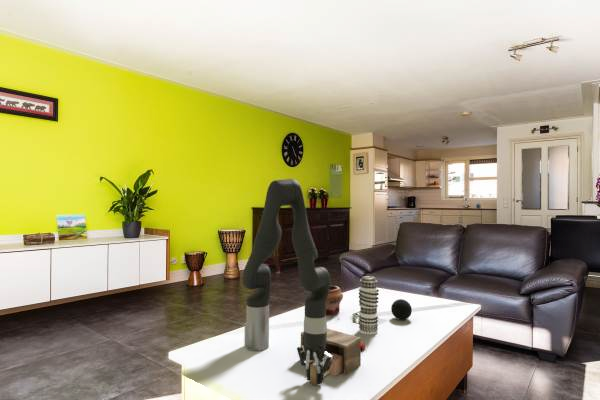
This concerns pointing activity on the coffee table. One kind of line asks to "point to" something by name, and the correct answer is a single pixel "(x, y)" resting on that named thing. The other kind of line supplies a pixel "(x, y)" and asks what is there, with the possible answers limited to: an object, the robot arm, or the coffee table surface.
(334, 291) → the decorative planter
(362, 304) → the stacked ring tower
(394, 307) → the decorative ball
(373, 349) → the coffee table surface
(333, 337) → the shelf
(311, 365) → the tethered block
